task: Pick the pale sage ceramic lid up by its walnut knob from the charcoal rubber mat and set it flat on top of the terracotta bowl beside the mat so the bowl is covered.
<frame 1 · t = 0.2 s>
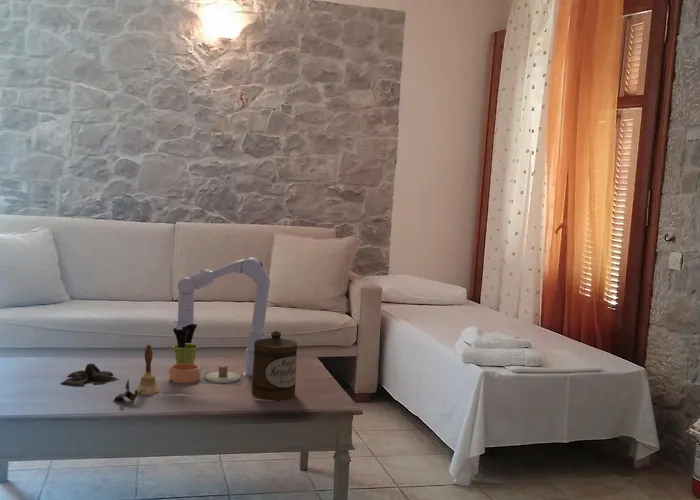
hand: (184, 345, 280), 10 cm above the table, fingers open, 7 cm apart
eagle figurine: (127, 401, 240), on the table
plant pot: (184, 369, 285), on the table
bowl: (185, 380, 268), on the table
lid: (222, 378, 271), point 1 cm above the table, touching mat
hand bell: (147, 392, 252), on the table
cloth: (94, 381, 263), on the table
mat: (222, 380, 271), on the table
wooden container: (273, 394, 257), on the table
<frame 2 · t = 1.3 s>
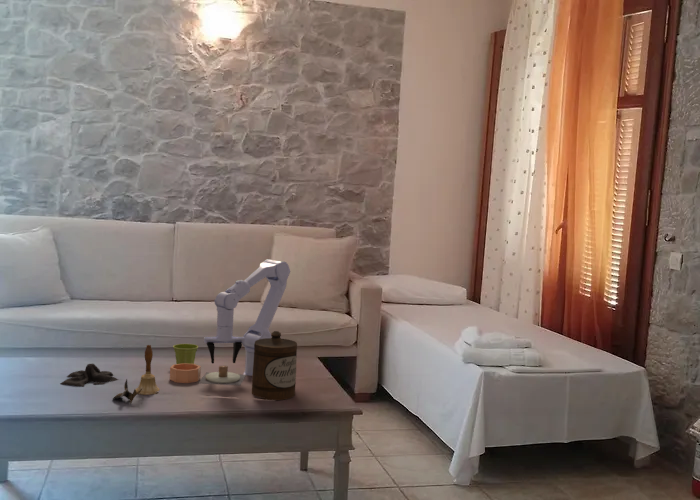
hand: (223, 362, 270), 7 cm above the table, fingers open, 7 cm apart
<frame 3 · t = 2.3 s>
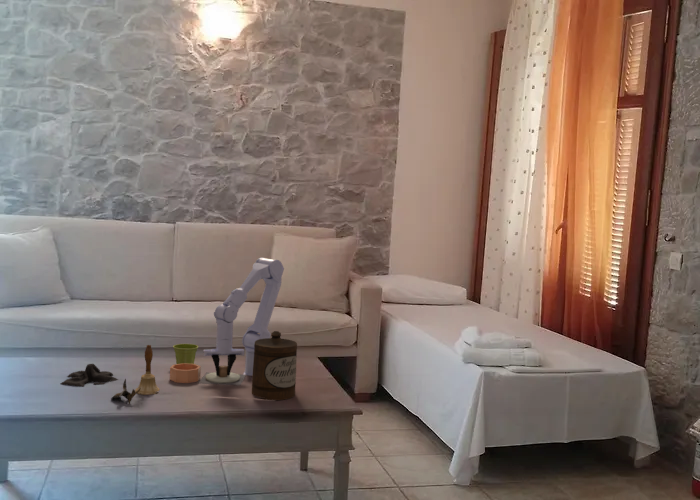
hand: (223, 374, 271), 2 cm above the table, fingers closed on lid, 3 cm apart
lid: (222, 378, 271), point 1 cm above the table, touching gripper, mat
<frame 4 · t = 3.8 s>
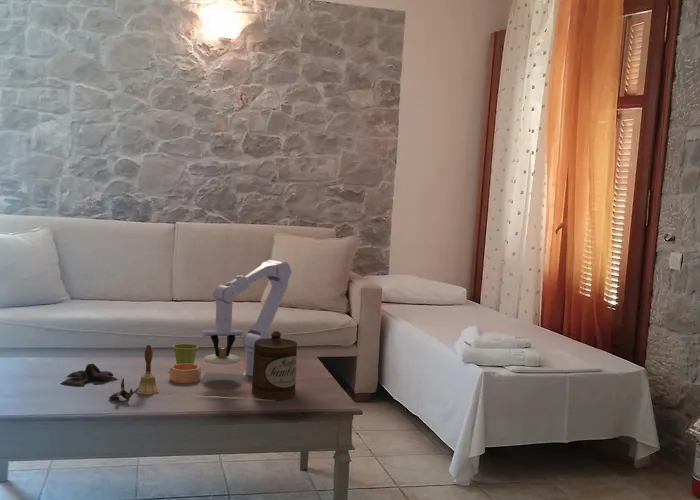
hand: (222, 355, 270), 9 cm above the table, fingers closed on lid, 3 cm apart
lid: (222, 360, 270), point 7 cm above the table, touching gripper
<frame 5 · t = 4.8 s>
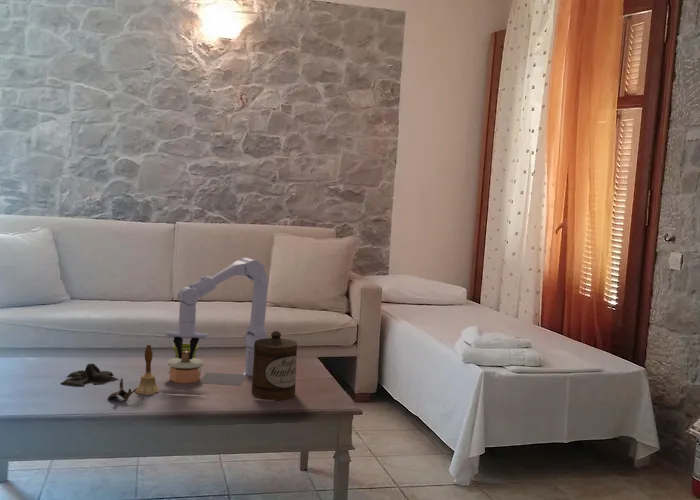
hand: (185, 358, 267), 8 cm above the table, fingers closed on lid, 3 cm apart
lid: (185, 364, 267), point 6 cm above the table, touching gripper
when the fingers open (7 cm above the table, at t = 5.3 s): lid stays where it is, resting on bowl.
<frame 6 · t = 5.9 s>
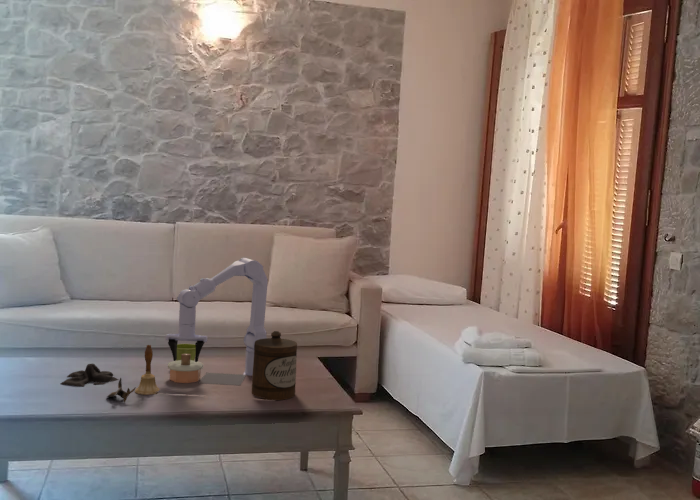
hand: (185, 360, 267), 7 cm above the table, fingers open, 7 cm apart
bowl: (185, 380, 268), on the table, touching lid
lid: (185, 366, 268), point 5 cm above the table, touching bowl
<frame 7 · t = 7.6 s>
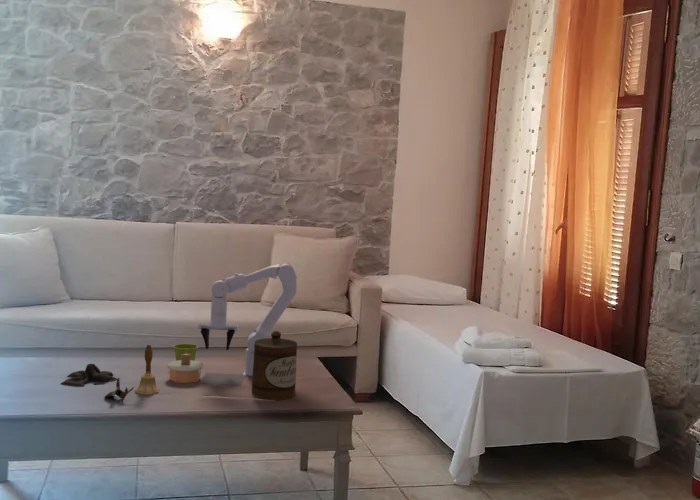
hand: (217, 348, 279), 9 cm above the table, fingers open, 7 cm apart
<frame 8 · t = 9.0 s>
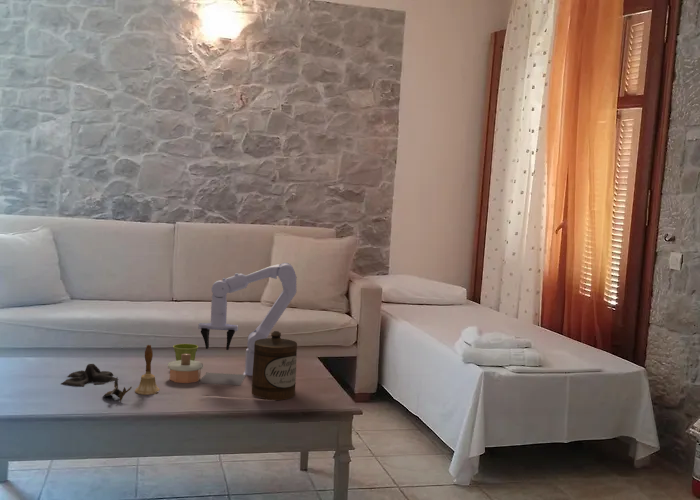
hand: (217, 348, 279), 9 cm above the table, fingers open, 7 cm apart
at the end: lid 0.1 cm from the bowl (horizontally); lid point 5.0 cm above the table; lid tilted 0° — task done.
